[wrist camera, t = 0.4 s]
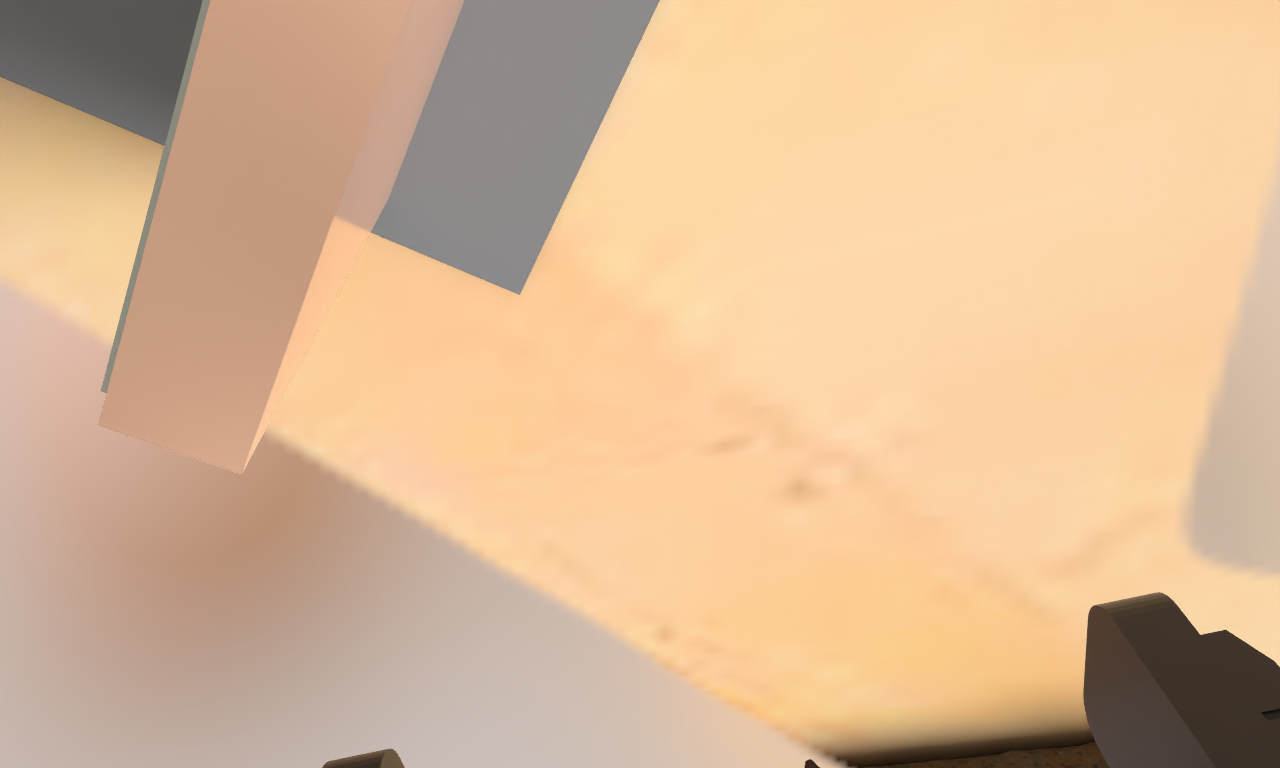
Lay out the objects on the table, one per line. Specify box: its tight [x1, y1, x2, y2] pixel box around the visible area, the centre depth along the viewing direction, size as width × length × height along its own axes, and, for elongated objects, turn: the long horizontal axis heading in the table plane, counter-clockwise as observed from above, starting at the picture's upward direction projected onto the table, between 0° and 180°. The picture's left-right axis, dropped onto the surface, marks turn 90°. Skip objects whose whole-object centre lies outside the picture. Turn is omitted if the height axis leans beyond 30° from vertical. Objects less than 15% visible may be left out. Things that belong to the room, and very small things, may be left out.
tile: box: [98, 0, 464, 475], centre depth 22 cm, size 10×3×14 cm, turn 154°
